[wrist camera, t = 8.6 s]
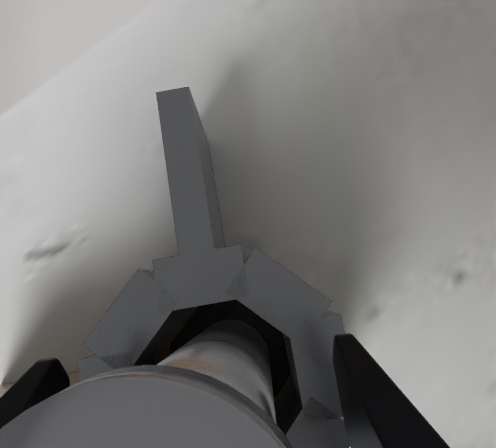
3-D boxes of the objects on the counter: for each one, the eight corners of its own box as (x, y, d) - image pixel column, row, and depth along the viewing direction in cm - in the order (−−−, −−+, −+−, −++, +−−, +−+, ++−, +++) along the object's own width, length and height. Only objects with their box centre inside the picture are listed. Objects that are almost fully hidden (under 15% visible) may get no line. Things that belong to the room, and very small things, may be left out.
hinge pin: (299, 348, 17) (425, 556, 4) (241, 435, 16) (162, 1010, 3) (218, 290, 18) (89, 299, 4) (160, 372, 17) (-179, 659, 4)
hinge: (405, 272, 17) (462, 264, 12) (204, 586, 16) (178, 723, 11) (194, 131, 19) (170, 74, 14) (-13, 401, 17) (-124, 445, 12)
